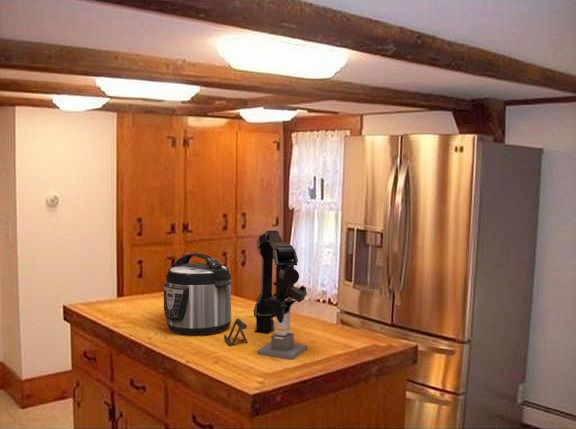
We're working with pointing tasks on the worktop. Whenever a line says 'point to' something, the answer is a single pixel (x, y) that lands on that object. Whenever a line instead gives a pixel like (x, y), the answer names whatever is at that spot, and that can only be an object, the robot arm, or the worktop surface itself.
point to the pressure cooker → (197, 296)
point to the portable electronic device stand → (241, 326)
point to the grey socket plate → (282, 347)
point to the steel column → (283, 325)
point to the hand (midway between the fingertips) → (282, 321)
